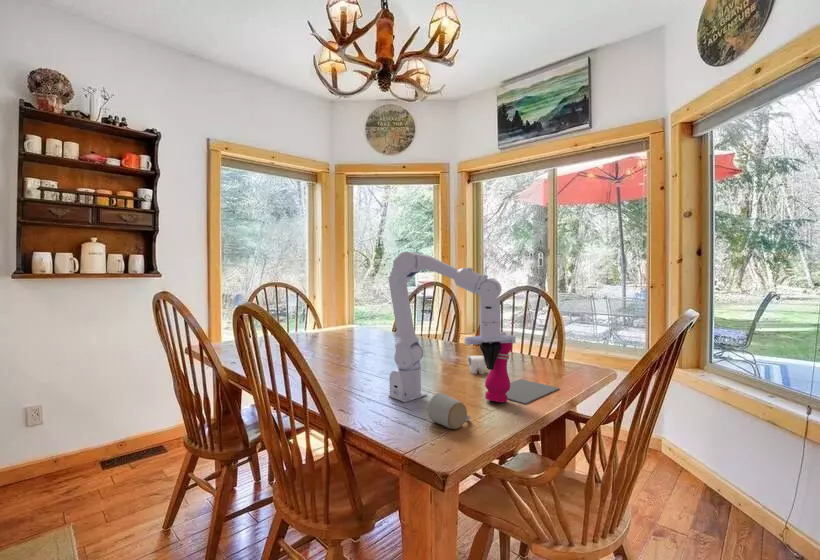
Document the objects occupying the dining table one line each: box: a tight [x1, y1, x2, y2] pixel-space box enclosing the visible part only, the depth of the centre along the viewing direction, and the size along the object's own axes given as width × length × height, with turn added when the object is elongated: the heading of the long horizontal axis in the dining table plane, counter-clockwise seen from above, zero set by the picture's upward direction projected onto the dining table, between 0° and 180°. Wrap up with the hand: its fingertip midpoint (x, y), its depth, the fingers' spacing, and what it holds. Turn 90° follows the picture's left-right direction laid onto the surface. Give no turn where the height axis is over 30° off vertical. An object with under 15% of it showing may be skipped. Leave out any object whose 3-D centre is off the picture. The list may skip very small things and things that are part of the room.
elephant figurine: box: [467, 353, 486, 375], centre depth 152 cm, size 8×10×7 cm
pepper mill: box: [484, 331, 513, 403], centre depth 120 cm, size 7×7×20 cm
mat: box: [486, 378, 560, 405], centre depth 129 cm, size 20×14×1 cm
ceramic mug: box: [427, 392, 471, 430], centre depth 104 cm, size 10×8×7 cm
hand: (490, 368), depth 117 cm, fingers closed
